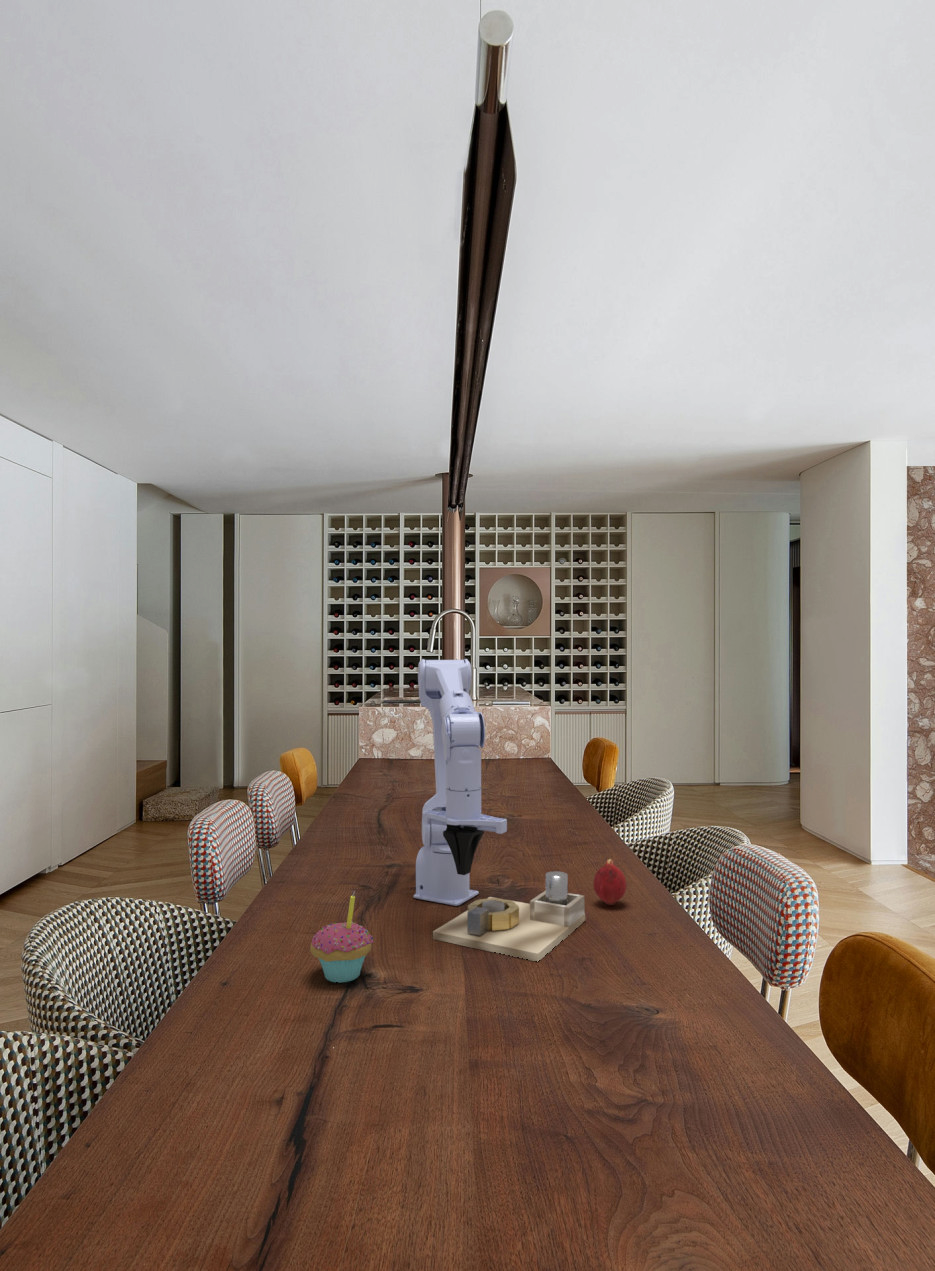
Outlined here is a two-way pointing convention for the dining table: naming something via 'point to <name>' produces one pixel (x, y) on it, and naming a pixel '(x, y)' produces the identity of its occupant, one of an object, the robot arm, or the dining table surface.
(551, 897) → the pin
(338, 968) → the cupcake
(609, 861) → the onion
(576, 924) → the board
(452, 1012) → the dining table surface
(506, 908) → the ring nut
